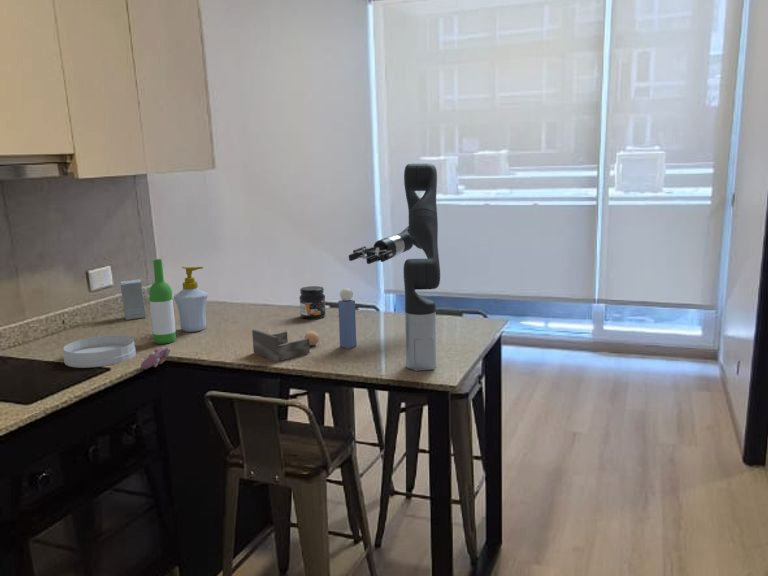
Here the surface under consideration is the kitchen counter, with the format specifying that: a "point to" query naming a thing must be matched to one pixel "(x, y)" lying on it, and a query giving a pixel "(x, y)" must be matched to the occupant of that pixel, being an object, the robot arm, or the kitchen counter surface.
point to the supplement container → (312, 302)
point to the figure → (347, 319)
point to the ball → (312, 338)
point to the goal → (278, 346)
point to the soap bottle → (191, 304)
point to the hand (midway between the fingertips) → (358, 259)
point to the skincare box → (133, 299)
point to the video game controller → (156, 358)
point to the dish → (99, 351)
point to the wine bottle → (161, 307)
